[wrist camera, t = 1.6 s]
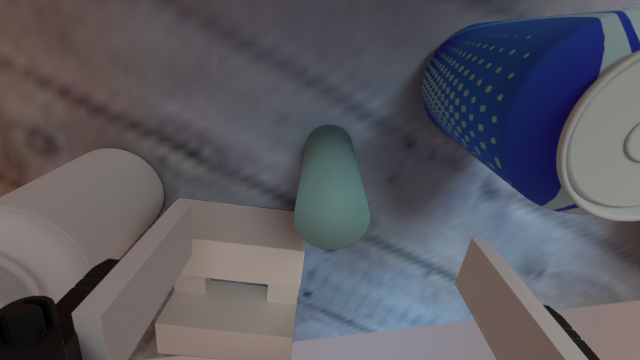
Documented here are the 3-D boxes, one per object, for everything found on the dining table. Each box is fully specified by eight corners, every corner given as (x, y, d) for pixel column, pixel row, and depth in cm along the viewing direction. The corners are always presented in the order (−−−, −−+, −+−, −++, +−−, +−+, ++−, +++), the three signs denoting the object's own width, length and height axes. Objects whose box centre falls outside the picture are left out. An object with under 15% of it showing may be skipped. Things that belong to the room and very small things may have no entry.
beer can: (511, 134, 28) (723, 244, 13) (411, 133, 28) (509, 240, 13) (539, 23, 24) (865, 2, 10) (424, 22, 24) (577, -1, 10)
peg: (308, 121, 27) (297, 178, 16) (356, 128, 28) (377, 188, 17) (303, 166, 29) (290, 245, 18) (348, 171, 29) (362, 253, 18)
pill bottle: (111, 235, 32) (-48, 384, 18) (59, 162, 29) (-177, 274, 15) (183, 211, 31) (71, 350, 17) (136, 133, 28) (-44, 225, 14)
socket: (178, 197, 30) (146, 233, 25) (308, 213, 31) (305, 251, 25) (183, 303, 35) (157, 352, 30) (294, 315, 36) (289, 366, 30)
